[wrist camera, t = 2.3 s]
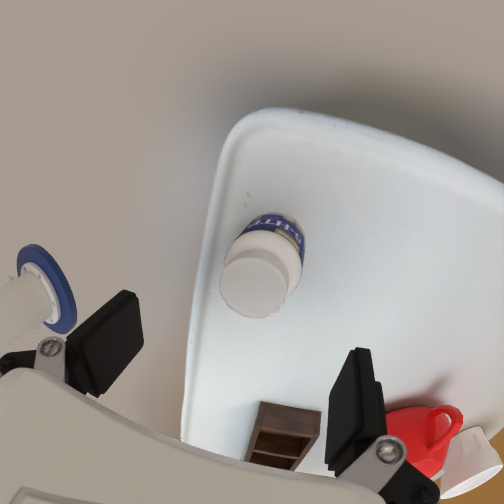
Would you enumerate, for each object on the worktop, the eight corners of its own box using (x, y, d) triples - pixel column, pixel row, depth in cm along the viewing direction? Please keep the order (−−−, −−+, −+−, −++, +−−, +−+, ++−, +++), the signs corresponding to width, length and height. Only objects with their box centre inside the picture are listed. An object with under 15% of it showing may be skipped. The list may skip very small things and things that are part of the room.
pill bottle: (312, 220, 22) (311, 261, 14) (296, 275, 24) (286, 337, 16) (250, 204, 23) (215, 236, 15) (239, 260, 25) (204, 313, 17)
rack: (243, 462, 40) (238, 478, 37) (261, 401, 32) (254, 424, 28) (284, 470, 39) (281, 487, 36) (321, 411, 30) (319, 435, 27)
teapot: (400, 367, 26) (419, 456, 15) (480, 380, 24) (506, 445, 13) (315, 458, 36) (307, 517, 25) (388, 464, 34) (389, 517, 23)
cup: (498, 421, 26) (512, 463, 16) (453, 456, 31) (460, 496, 21) (472, 415, 26) (487, 466, 16) (420, 453, 32) (426, 501, 22)
